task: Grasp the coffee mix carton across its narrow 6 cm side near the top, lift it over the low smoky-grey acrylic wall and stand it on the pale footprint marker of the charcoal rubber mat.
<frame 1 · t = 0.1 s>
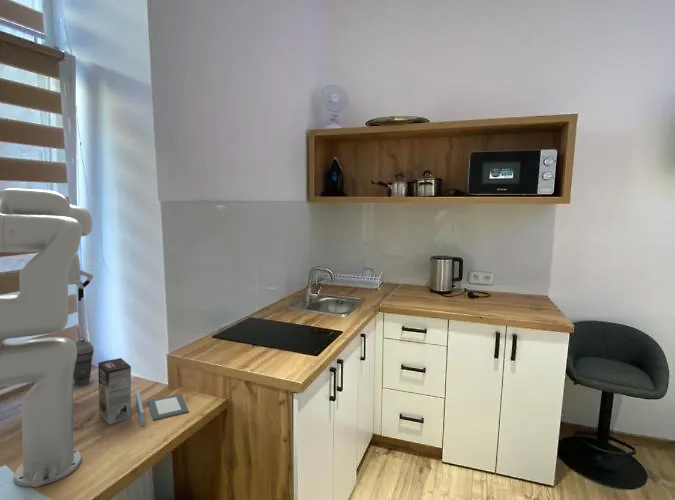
hand: (62, 301, 123), 31 cm above the counter, fingers open, 9 cm apart
acrylic wall: (139, 413, 114), on the counter
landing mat: (167, 407, 119), on the counter
beverage cup: (82, 383, 133), on the counter
coffee box: (114, 416, 113), on the counter
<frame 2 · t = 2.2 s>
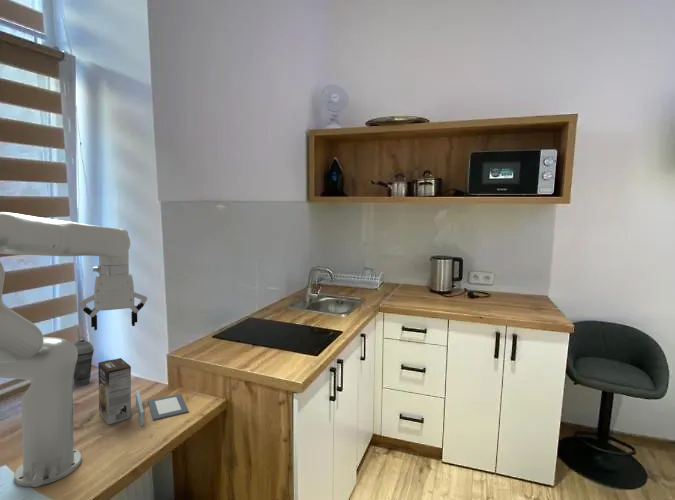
hand: (114, 327, 111), 27 cm above the counter, fingers open, 9 cm apart
nothing on the counter moved.
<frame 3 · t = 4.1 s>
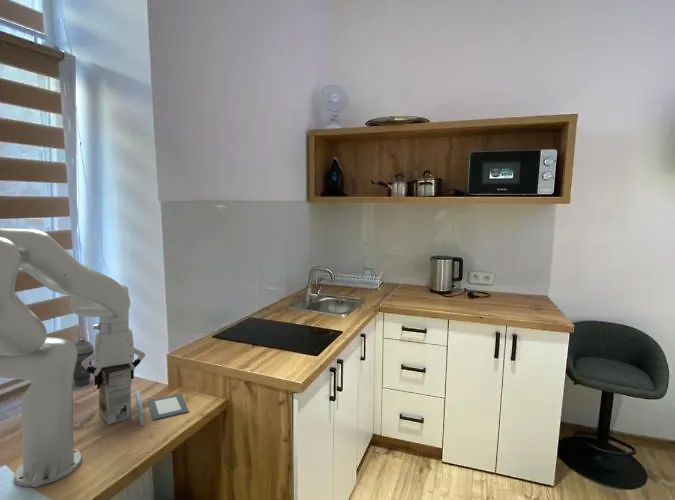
hand: (114, 383, 112), 10 cm above the counter, fingers closed on coffee box, 7 cm apart
coffee box: (114, 416, 113), on the counter, touching gripper
everything else where it was.
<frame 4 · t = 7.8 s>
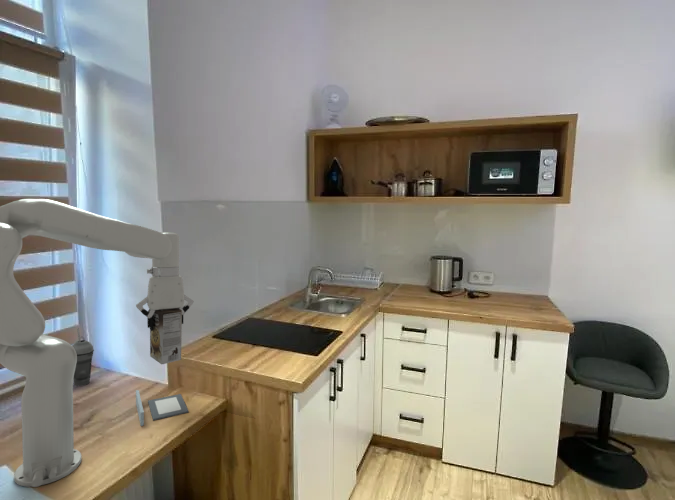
hand: (165, 327, 117), 26 cm above the counter, fingers closed on coffee box, 7 cm apart
coffee box: (165, 358, 117), point 16 cm above the counter, touching gripper
everything else where it was.
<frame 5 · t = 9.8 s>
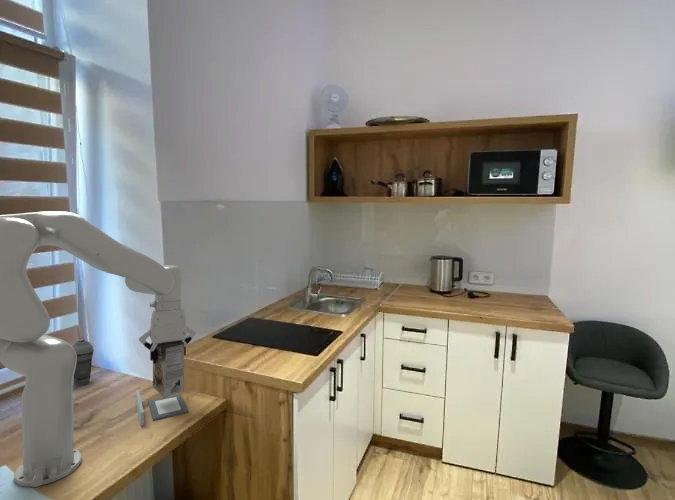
hand: (168, 359, 118), 16 cm above the counter, fingers closed on coffee box, 7 cm apart
coffee box: (168, 390, 119), point 5 cm above the counter, touching gripper
everything else where it was.
when the fingers open (11 cm above the counter, at t = 11.7 s): coffee box stays where it is, resting on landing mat.
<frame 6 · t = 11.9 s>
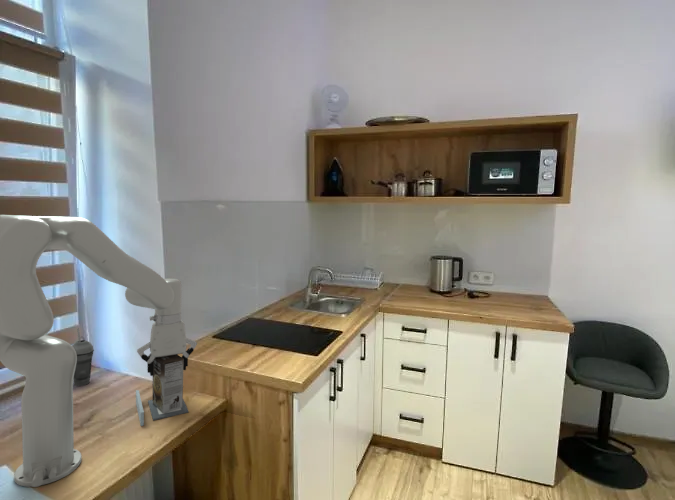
hand: (168, 371, 118), 12 cm above the counter, fingers open, 9 cm apart
coffee box: (167, 406, 119), resting on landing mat
everything else where it was.
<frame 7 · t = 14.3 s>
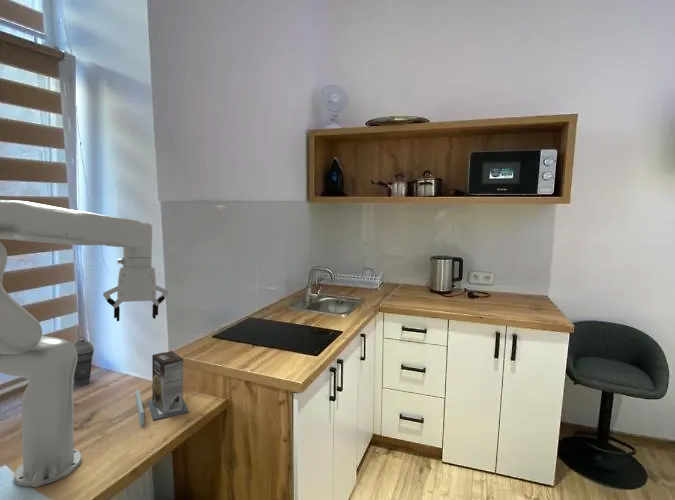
hand: (136, 318, 113), 29 cm above the counter, fingers open, 9 cm apart
nothing on the counter moved.
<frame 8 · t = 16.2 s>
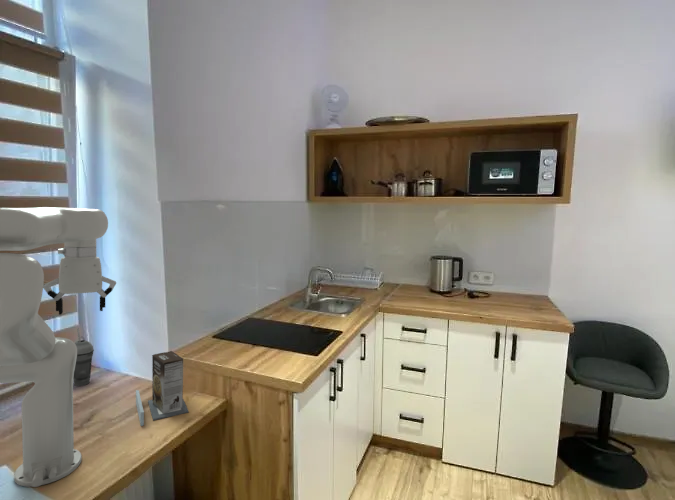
hand: (81, 311, 107), 32 cm above the counter, fingers open, 9 cm apart
nothing on the counter moved.
at the end: coffee box 0.2 cm off-centre on the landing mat, point 0.4 cm above the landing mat's base; coffee box tilted 0°; the gripper is holding nothing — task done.
